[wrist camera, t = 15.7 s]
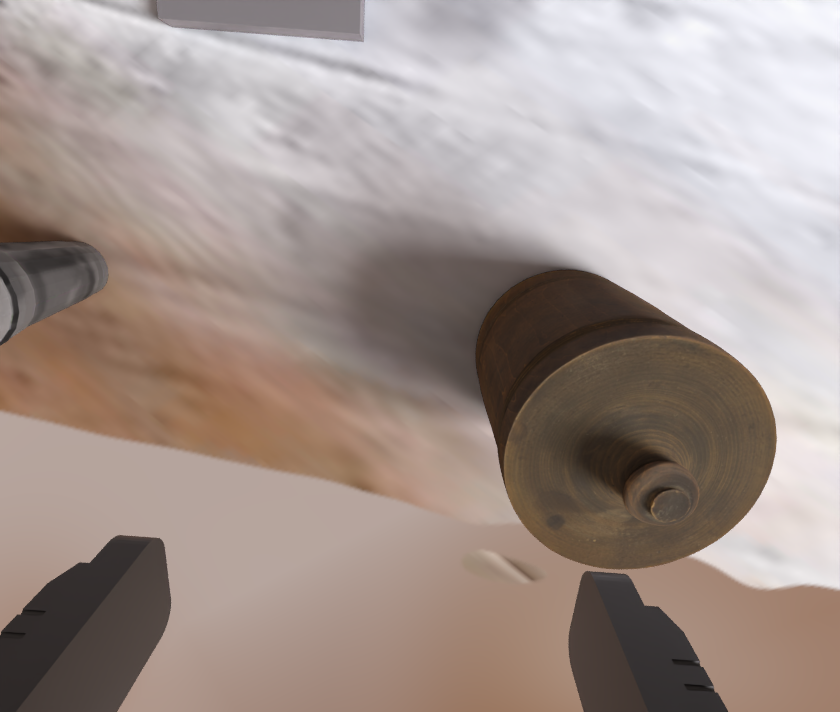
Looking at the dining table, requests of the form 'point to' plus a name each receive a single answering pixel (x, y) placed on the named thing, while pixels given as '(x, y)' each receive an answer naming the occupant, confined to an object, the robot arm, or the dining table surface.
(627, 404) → the wooden container
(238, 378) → the dining table surface
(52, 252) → the beverage cup
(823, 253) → the dining table surface
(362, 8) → the gauge base
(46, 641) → the robot arm
